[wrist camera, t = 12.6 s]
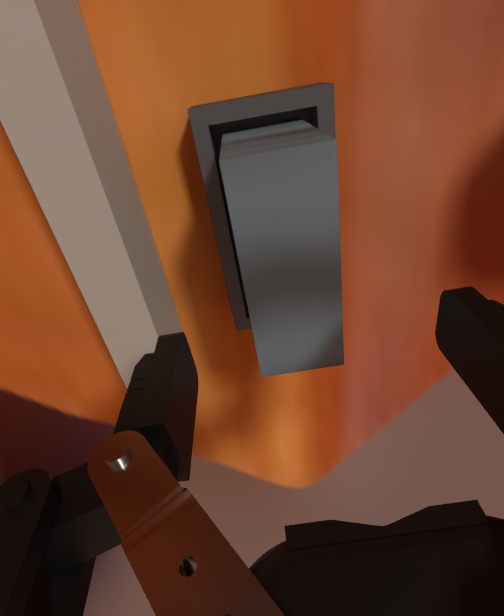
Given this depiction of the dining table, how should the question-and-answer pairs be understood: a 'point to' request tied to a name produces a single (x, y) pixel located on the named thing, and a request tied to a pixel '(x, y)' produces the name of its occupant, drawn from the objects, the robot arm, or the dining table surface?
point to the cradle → (208, 137)
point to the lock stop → (287, 241)
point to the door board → (82, 174)
